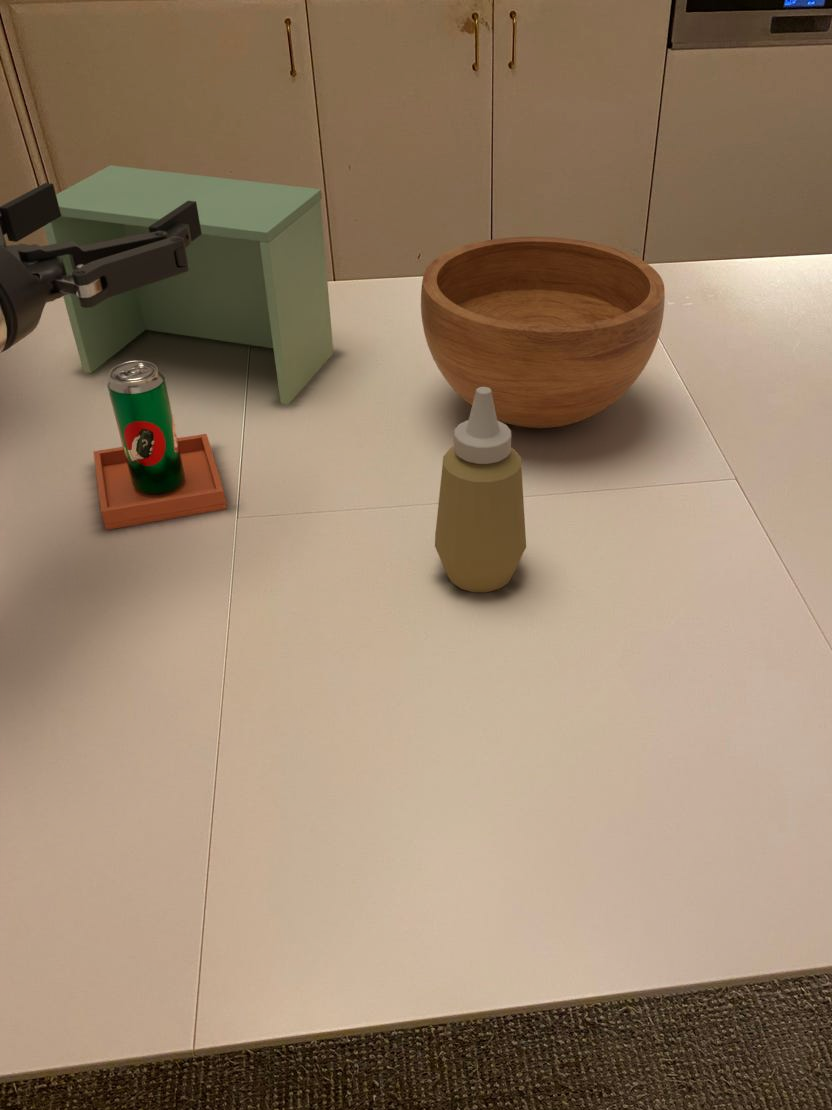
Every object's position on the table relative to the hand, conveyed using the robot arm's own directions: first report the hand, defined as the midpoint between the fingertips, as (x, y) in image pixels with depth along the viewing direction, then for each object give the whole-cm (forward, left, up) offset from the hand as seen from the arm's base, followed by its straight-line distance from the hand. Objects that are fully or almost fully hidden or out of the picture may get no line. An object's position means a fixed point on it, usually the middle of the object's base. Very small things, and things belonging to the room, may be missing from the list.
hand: (123, 208), depth 85 cm
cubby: (-14, +17, -25) cm, 33 cm away
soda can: (+3, -4, -25) cm, 25 cm away
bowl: (+23, +32, -25) cm, 46 cm away
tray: (+3, -4, -25) cm, 26 cm away
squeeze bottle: (+36, +5, -25) cm, 44 cm away
